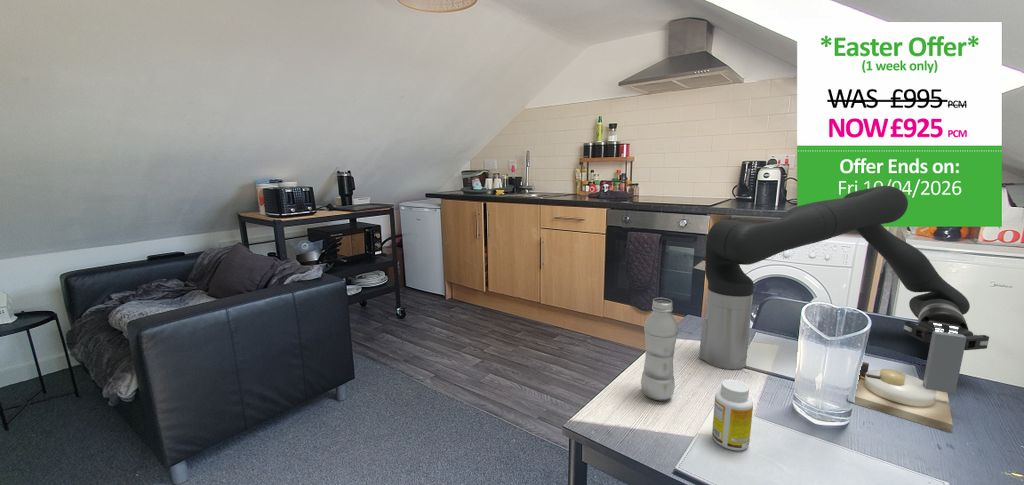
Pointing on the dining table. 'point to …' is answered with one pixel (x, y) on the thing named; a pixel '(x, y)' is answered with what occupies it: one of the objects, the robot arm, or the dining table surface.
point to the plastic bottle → (659, 351)
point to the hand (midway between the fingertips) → (946, 347)
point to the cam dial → (937, 375)
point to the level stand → (906, 406)
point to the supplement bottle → (732, 415)
